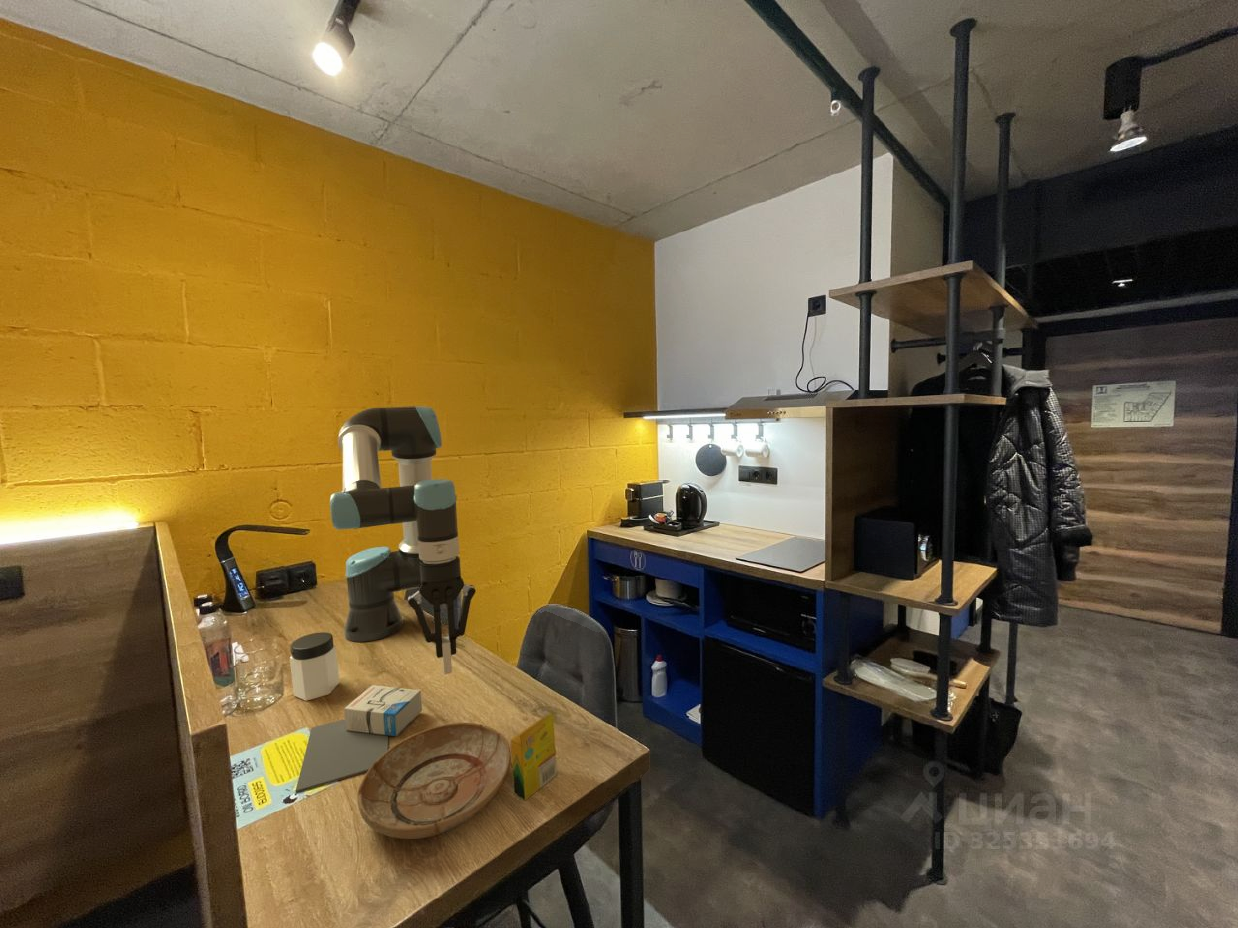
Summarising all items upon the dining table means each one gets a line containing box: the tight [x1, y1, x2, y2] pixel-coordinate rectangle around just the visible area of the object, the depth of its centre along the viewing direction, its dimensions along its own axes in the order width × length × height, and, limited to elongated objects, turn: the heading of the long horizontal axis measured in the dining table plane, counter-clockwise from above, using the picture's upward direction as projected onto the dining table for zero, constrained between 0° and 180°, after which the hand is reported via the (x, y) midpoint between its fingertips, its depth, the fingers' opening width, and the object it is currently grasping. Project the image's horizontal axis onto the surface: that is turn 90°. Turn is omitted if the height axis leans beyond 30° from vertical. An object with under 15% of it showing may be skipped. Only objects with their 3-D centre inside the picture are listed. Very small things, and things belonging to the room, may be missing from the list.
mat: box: [295, 718, 389, 794], centre depth 93 cm, size 18×14×1 cm
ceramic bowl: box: [357, 722, 512, 840], centre depth 81 cm, size 23×24×5 cm
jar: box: [289, 631, 340, 702], centre depth 112 cm, size 9×8×12 cm
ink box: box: [343, 684, 423, 737], centre depth 100 cm, size 9×5×12 cm
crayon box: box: [510, 712, 558, 802], centre depth 82 cm, size 7×3×12 cm, turn 140°
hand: (447, 669), depth 100 cm, fingers closed
